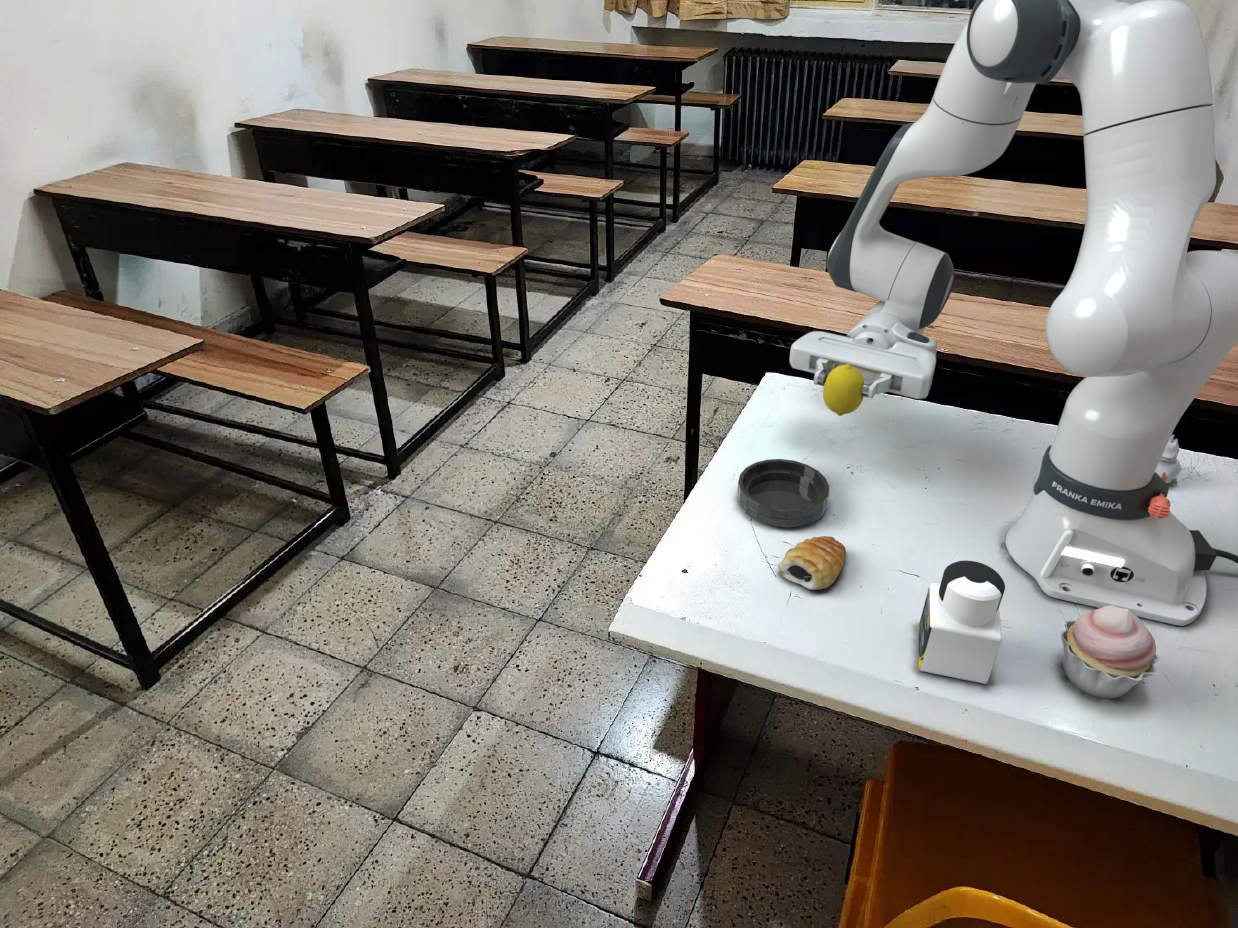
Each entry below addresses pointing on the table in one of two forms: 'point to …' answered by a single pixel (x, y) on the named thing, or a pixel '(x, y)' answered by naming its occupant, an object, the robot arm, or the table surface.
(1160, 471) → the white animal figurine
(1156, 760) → the table surface
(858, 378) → the lemon
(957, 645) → the medicine bottle
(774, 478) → the shallow dish
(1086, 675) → the cupcake
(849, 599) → the table surface
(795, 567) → the pastry
